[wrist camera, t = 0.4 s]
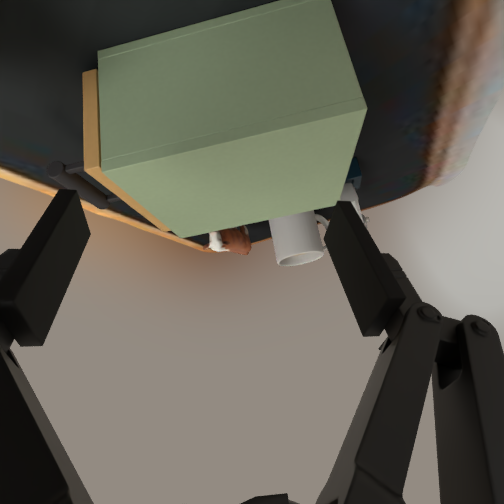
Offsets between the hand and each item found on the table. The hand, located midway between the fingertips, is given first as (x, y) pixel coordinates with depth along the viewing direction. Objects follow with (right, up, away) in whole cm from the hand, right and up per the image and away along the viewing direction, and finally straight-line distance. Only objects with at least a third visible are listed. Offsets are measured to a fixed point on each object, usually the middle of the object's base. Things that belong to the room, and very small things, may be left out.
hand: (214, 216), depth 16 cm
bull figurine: (-3, +5, +40) cm, 41 cm away
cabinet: (0, +14, +14) cm, 19 cm away
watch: (+15, +11, +32) cm, 37 cm away
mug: (+10, +6, +45) cm, 46 cm away
